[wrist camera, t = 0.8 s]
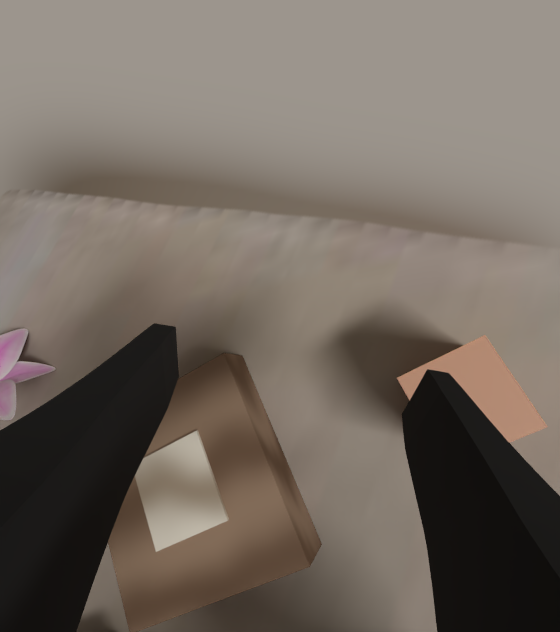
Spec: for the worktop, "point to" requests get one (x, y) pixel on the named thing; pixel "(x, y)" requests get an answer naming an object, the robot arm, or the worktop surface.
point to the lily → (15, 370)
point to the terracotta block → (484, 387)
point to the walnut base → (209, 502)
